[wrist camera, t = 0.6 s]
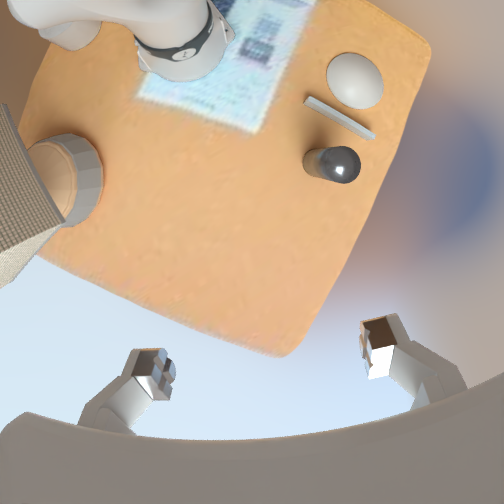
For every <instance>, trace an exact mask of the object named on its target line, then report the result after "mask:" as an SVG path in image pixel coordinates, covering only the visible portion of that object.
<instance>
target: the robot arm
mask: <svg viewBox="0 0 504 504" xmlns="http://www.w3.org/2000/svg"><path fill="white" fill-rule="evenodd" d="M7 4H8V7H9V10H10V12H11V13H12V15H13V16H14V18H15V19H16V20H17V21H19V22H20V23H22V24H24V25H26V26H28V27H32V28H35V29H46V28H50V27H53V26H56V25H60V24H64V23H68V22H75V21H88V20H89V21H105V22H112V23H117V24H121V25H123V26H125V27H126V28H128V29H129V30H130V31H131V32H132V33H133V34H134V37H135V45H136V46H138V51H137V53H138V61H139V68H140V69H141V70H142V71H145V72H153V73H156V74H158V75H159V76H161V77H162V78H164V79H166V80H169V81H173V82H189V81H193V80H196V79H199V78H201V77H203V76H205V75H207V74H208V73H210V72H211V71H212V70H213V69H214V68H215V67H216V66H217V65H218V64H219V62H220V61H221V59H222V57H223V54H224V51H225V49H226V47H227V46H228V45H229V44H230V43H231V42H232V41H233V40H234V38H235V33H234V31H233V30H232V28H231V27H230V26H229V24H228V23H227V21H226V20H225V19H224V17H223V16H222V15H221V13H220V12H219V10H218V9H217V8H216V6H215V5H214V4H213V3H212V1H211V0H7ZM225 30H227V32H225ZM360 330H361V335H360V337H359V340H360V341H359V343H360V350H361V355H362V358H364V359H365V360H366V361H365V368H366V371H367V374H368V378H369V379H370V378H375V377H380V376H384V375H388V374H389V376H390V377H391V378H392V379H393V380H394V381H396V382H397V383H398V384H399V385H400V386H402V387H403V388H404V389H405V390H406V391H407V392H408V393H410V394H411V395H412V396H413V397H414V398H415V400H414V402H413V405H412V407H411V409H410V411H408V412H405V413H401V414H398V415H394V416H391V417H387V418H383V419H380V420H376V421H372V422H368V423H363V424H359V425H354V426H350V427H345V428H340V429H334V430H329V431H323V432H316V433H310V434H302V435H294V436H287V437H275V438H264V439H248V440H182V439H167V438H155V437H145V436H137V435H136V433H134V432H133V431H132V430H131V429H130V428H131V427H132V426H133V425H134V423H135V422H136V421H137V420H138V419H139V418H140V416H141V415H142V414H143V413H144V411H145V410H146V409H147V408H148V407H149V405H150V404H151V403H152V402H153V401H152V400H170V395H171V392H172V387H171V385H170V384H171V383H172V382H173V381H174V380H175V376H176V372H175V366H174V363H173V361H172V360H170V359H169V358H167V352H166V350H165V349H163V348H152V349H151V348H150V349H148V348H146V349H133V350H132V351H131V352H130V355H129V357H128V359H127V362H126V364H125V367H124V369H123V372H122V374H121V376H118V377H117V378H116V379H114V380H113V381H112V382H111V383H110V384H108V385H107V386H106V387H105V388H104V389H103V390H102V391H101V392H99V393H98V394H97V395H96V396H95V397H93V398H92V399H91V400H90V401H89V402H88V403H87V404H85V407H84V409H83V411H82V414H81V416H80V419H79V421H78V424H77V425H74V424H70V423H66V422H62V421H58V420H55V419H51V418H47V417H44V416H41V415H37V414H34V413H31V412H24V413H23V414H21V415H19V416H18V417H17V418H15V419H14V420H13V421H11V422H10V423H9V424H7V425H6V426H5V428H4V429H3V430H2V432H1V433H0V504H504V372H503V373H501V374H499V375H497V376H495V377H493V378H491V379H489V380H487V381H485V382H483V383H481V384H479V385H476V386H474V387H472V388H470V389H468V388H467V386H466V384H465V382H464V380H463V378H462V376H461V374H460V372H459V370H458V368H457V366H456V365H454V364H453V363H451V362H449V361H448V360H446V359H444V358H443V357H441V356H439V355H438V354H436V353H434V352H432V351H431V350H429V349H428V348H426V347H424V346H423V345H421V344H419V343H417V342H416V341H410V339H409V337H408V335H407V332H406V330H405V328H404V326H403V324H402V322H401V320H400V318H399V316H398V315H397V314H396V313H394V314H390V315H386V316H382V317H377V318H373V319H369V320H365V321H361V323H360Z"/></svg>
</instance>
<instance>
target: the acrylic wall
mask: <svg viewBox="0 0 504 504" xmlns="http://www.w3.org/2000/svg"><path fill="white" fill-rule="evenodd" d="M303 104H304V105H306V106H308V107H310V108H312V109H314V110H315V111H317V112H319V113H321V114H323V115H325V116H326V117H328V118H330V119H332V120H334V121H335V122H337V123H339V124H340V125H342V126H344V127H345V128H347V129H349V130H350V131H352V132H354V133H355V134H357V135H359V136H360V137H362V138H363V139H365V140H374V138H375V136H376V135H375V134H374V133H372V132H371V131H369V130H367V129H366V128H364V127H363V126H361V125H360V124H358V123H356V122H355V121H353V120H352V119H350V118H348V117H347V116H345V115H343V114H341V113H340V112H338V111H336V110H335V109H333V108H331V107H329V106H328V105H326V104H324V103H322V102H320V101H318V100H317V99H315V98H313V97H311V96H309V97H308V98H307V99H306V100H305V101H304V103H303Z"/></svg>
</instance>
